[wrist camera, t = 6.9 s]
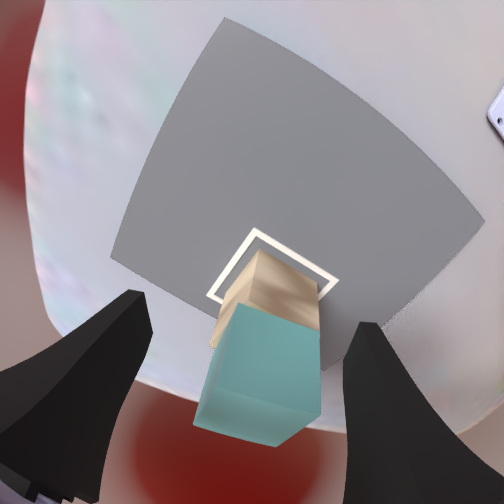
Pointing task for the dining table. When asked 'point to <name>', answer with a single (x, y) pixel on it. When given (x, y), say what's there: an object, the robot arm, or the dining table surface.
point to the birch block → (271, 294)
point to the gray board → (289, 191)
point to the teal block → (262, 379)
